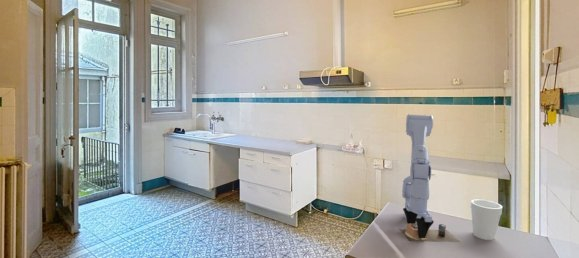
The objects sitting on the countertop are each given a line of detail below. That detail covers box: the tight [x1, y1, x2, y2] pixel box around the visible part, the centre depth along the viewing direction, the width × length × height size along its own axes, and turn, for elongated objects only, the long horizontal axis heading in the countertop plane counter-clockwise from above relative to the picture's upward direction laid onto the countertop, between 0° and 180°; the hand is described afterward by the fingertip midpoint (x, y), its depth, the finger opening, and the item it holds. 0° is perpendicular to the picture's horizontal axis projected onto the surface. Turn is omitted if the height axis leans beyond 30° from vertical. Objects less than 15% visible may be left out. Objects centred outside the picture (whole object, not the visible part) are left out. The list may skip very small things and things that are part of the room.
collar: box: [405, 222, 428, 238], centre depth 104 cm, size 5×5×3 cm
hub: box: [404, 224, 428, 240], centre depth 104 cm, size 8×8×4 cm
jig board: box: [399, 228, 461, 243], centre depth 105 cm, size 18×9×1 cm, turn 90°
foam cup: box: [470, 198, 503, 241], centre depth 104 cm, size 10×9×13 cm
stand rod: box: [437, 223, 447, 237], centre depth 104 cm, size 2×2×4 cm
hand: (416, 232), depth 105 cm, fingers open, 7 cm apart
